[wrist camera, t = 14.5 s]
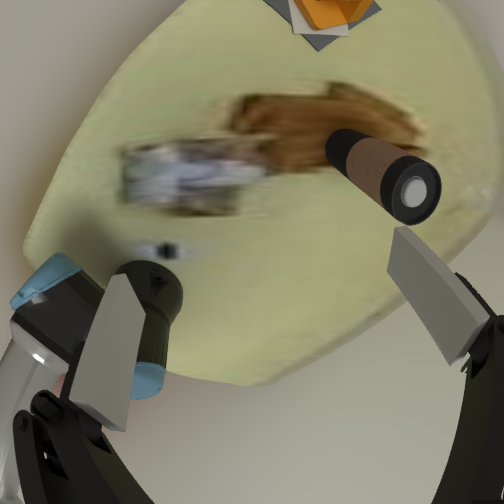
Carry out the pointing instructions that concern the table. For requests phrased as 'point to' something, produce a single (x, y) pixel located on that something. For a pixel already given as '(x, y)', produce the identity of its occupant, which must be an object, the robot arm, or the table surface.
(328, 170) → the table surface
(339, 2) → the bracket
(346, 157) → the travel mug
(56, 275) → the robot arm
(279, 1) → the mat
